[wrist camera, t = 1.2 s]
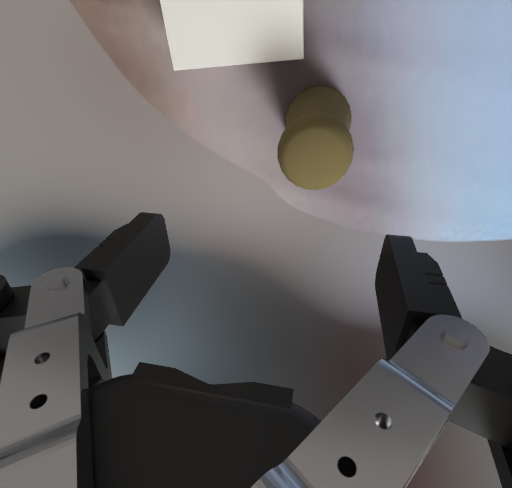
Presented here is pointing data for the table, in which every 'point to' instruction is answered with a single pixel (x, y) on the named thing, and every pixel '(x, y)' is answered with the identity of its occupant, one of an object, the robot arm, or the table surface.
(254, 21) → the podium
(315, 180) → the cork
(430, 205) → the table surface
